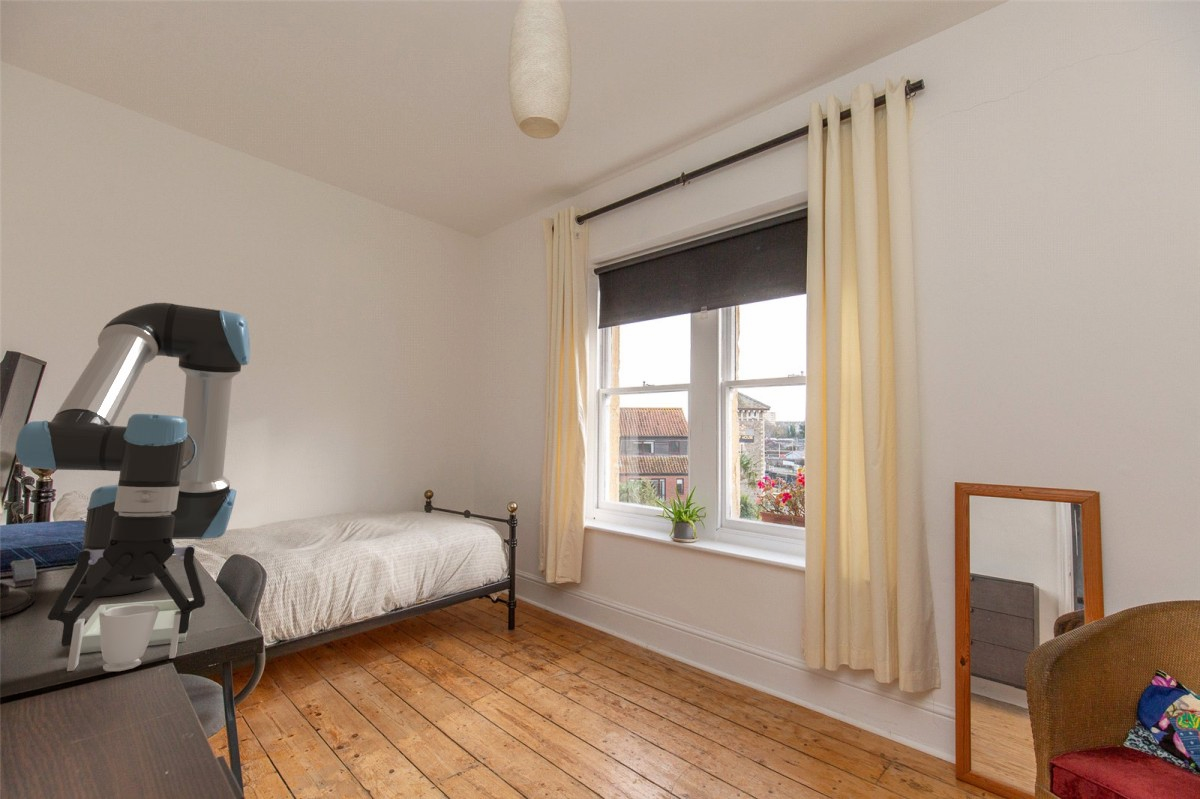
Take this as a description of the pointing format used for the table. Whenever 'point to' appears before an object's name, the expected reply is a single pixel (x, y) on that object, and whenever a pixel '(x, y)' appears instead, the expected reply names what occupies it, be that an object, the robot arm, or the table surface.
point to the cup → (126, 634)
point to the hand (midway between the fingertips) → (124, 661)
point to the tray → (159, 633)
